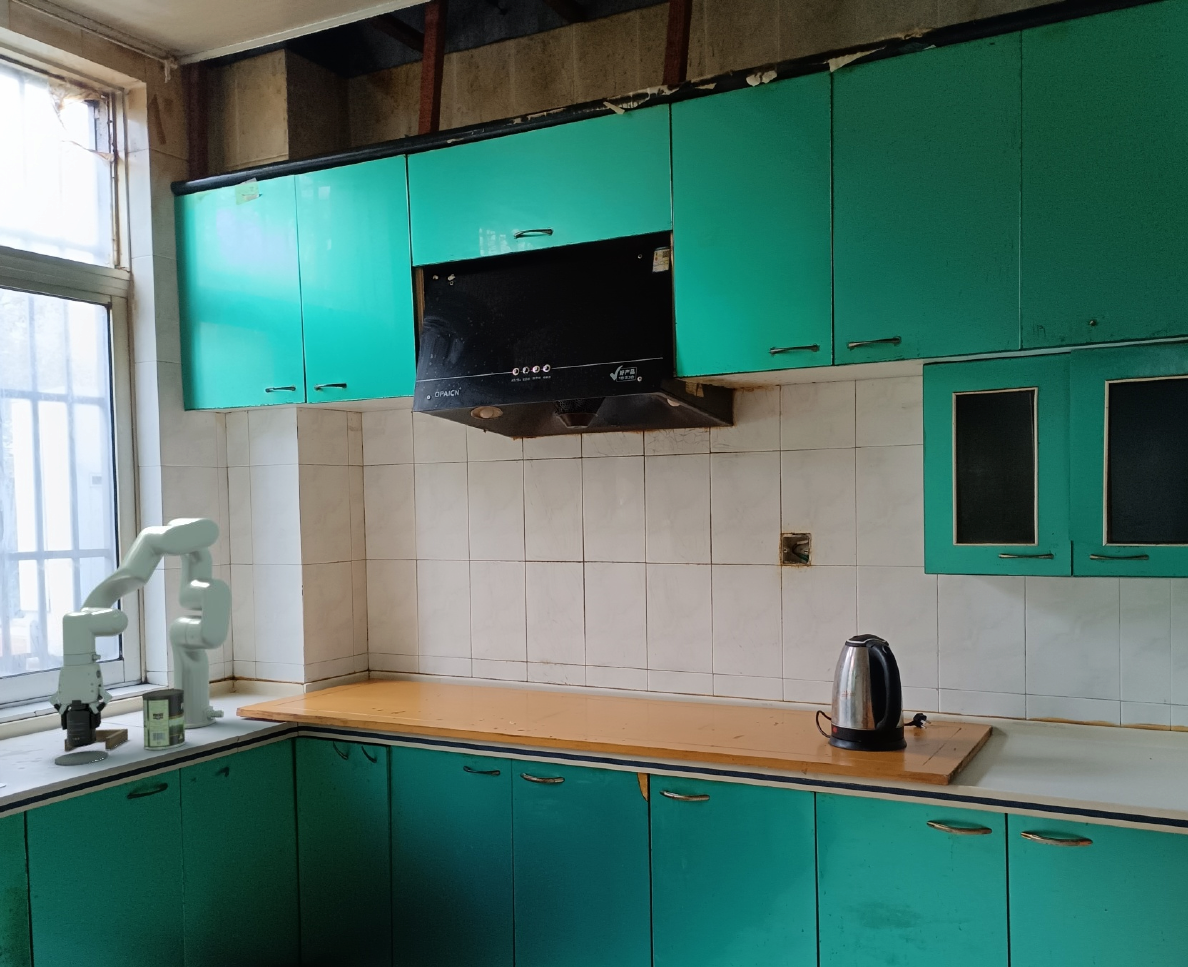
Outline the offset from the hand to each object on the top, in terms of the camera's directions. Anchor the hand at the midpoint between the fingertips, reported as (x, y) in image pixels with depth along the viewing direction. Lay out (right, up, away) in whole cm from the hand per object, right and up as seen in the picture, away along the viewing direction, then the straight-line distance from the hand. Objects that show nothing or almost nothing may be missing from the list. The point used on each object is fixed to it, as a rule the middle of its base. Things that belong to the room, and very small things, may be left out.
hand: (81, 727), depth 260 cm
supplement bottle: (0, -5, 0) cm, 5 cm away
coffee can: (+19, -6, +6) cm, 21 cm away
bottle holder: (0, -7, +8) cm, 10 cm away
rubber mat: (+3, -6, -6) cm, 9 cm away
